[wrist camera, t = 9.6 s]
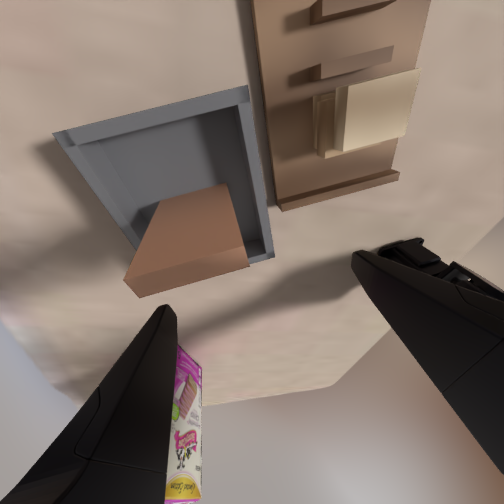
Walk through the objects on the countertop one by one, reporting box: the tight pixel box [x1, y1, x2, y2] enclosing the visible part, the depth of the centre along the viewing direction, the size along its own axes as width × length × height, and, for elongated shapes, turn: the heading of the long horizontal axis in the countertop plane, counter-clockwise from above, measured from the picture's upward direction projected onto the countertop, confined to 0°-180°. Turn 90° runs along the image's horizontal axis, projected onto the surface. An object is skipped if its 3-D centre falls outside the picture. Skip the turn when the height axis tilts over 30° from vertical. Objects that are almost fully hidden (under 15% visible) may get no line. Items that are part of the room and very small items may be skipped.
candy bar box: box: [165, 345, 202, 504], centre depth 28 cm, size 11×5×16 cm, turn 14°
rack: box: [250, 0, 431, 212], centre depth 15 cm, size 16×12×2 cm
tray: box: [52, 85, 275, 264], centre depth 17 cm, size 14×12×4 cm
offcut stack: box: [313, 68, 421, 159], centre depth 15 cm, size 4×5×4 cm
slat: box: [123, 183, 250, 298], centre depth 14 cm, size 1×6×10 cm, turn 102°
